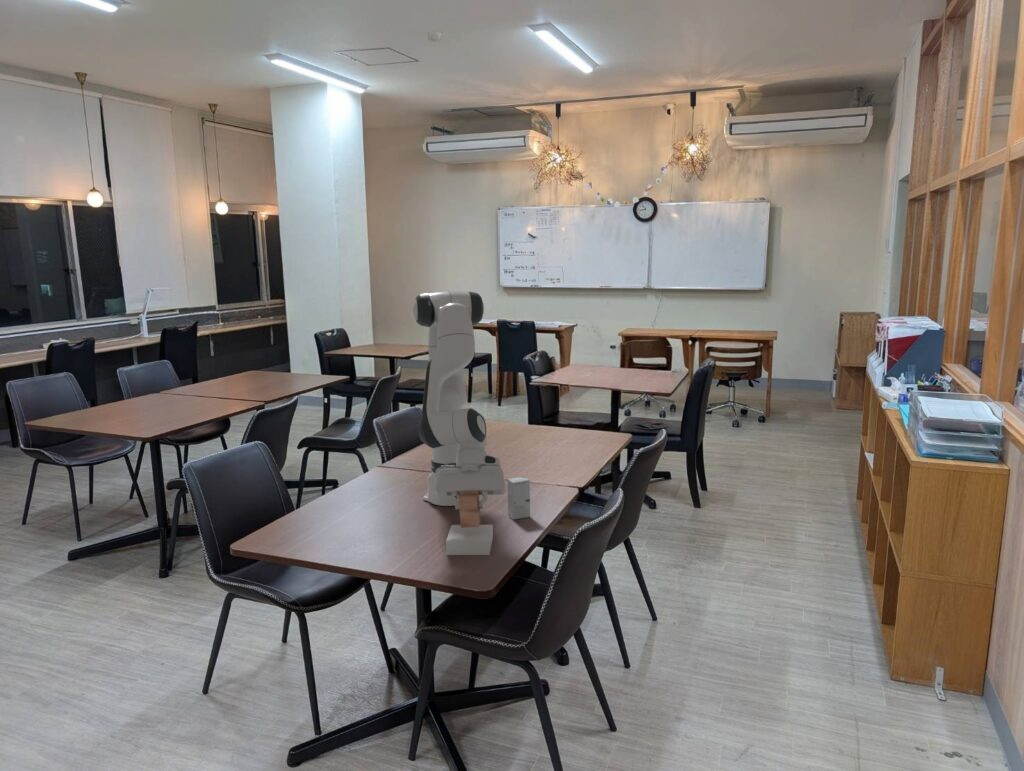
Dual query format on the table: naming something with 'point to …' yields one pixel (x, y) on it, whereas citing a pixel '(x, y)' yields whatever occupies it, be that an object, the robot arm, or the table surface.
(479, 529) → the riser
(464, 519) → the terracotta block
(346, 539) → the table surface
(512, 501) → the skincare box
